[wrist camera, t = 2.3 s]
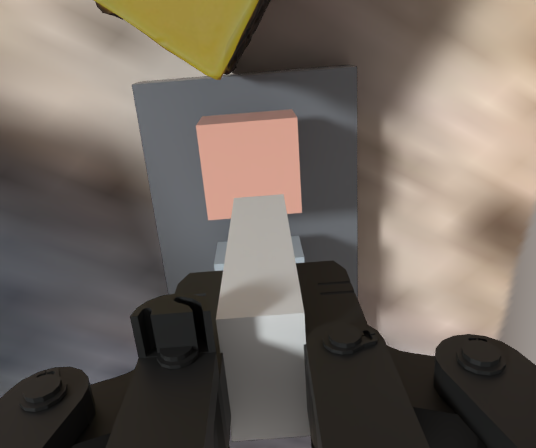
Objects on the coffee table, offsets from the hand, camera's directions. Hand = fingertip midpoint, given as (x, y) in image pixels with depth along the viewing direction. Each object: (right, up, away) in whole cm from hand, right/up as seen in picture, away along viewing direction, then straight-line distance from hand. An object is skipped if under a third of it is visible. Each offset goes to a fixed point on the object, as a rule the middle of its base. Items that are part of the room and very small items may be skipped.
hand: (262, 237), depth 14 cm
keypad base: (0, -1, +16) cm, 16 cm away
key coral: (-1, +5, +12) cm, 13 cm away
